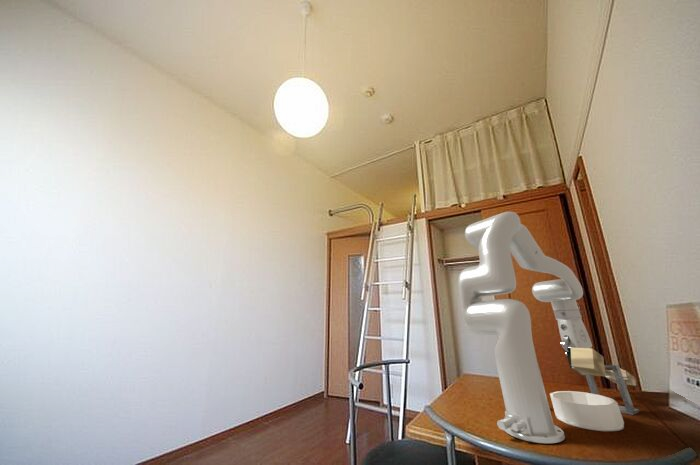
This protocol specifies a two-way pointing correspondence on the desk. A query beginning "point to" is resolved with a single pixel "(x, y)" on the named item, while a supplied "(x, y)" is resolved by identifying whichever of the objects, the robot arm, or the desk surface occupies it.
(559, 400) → the bowl
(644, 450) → the desk surface
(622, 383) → the pivot stand
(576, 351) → the lever
